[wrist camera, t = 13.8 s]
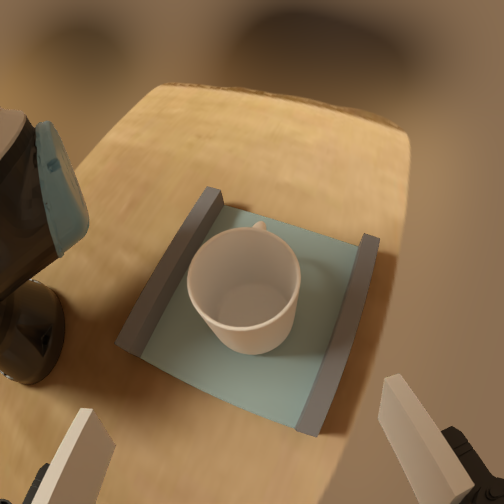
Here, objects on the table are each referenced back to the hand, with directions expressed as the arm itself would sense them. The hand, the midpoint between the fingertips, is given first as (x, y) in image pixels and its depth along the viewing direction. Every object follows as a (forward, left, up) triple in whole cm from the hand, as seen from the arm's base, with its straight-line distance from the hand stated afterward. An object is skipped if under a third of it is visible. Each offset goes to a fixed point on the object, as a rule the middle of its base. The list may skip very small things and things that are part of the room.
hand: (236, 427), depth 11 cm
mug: (-10, +7, -18) cm, 22 cm away
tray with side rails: (-10, +7, -18) cm, 22 cm away
